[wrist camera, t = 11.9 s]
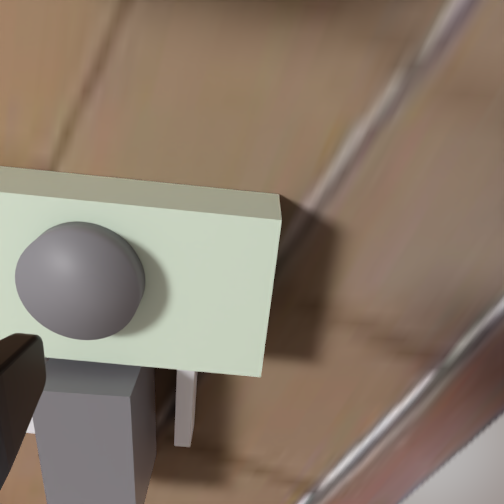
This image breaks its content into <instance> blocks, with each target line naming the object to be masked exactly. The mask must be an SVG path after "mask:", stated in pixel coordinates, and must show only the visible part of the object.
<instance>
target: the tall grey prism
mask: <svg viewBox="0 0 504 504" xmlns="http://www.w3.org/2000/svg"><path fill="white" fill-rule="evenodd" d="M45 365H46V383H45V387H44V390H43V392H42V395H41V397H40V399H39V402H38V404H37V407H36V409H35V412H34V414H33V423H34V429H35V435H36V441H37V447H38V453H39V459H40V465H41V471H42V477H43V483H44V488H45V494H46V500H47V504H144V502H145V498H146V494H147V490H148V486H149V482H150V478H151V474H152V470H153V466H154V462H155V458H156V412H155V370H154V367H145V366H134V365H123V364H112V363H101V362H91V361H80V360H69V359H58V358H49V359H48V361H47V362H46V364H45Z"/></svg>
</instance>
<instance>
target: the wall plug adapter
mask: <svg viewBox="0 0 504 504" xmlns="http://www.w3.org/2000/svg"><path fill="white" fill-rule="evenodd" d="M281 223H282V217H281V208H280V198H279V194H271V193H262V192H252V191H242V190H232V189H222V188H212V187H202V186H192V185H182V184H173V183H163V182H153V181H143V180H133V179H123V178H113V177H103V176H93V175H84V174H74V173H64V172H54V171H44V170H34V169H24V168H14V167H5V166H0V340H1V339H3V338H5V337H7V336H9V335H12V334H14V333H25V334H35V335H39V336H40V337H41V338H42V341H43V346H44V355H45V364H46V362H47V361H48V359H47V358H58V359H69V360H80V361H91V362H101V363H112V364H123V365H134V366H145V367H156V368H166V369H177V383H176V409H175V435H174V446H182V447H190V445H191V440H192V434H193V428H194V420H195V403H196V387H197V371H199V372H210V373H221V374H231V375H242V376H253V377H261V372H262V365H263V357H264V350H265V342H266V335H267V327H268V320H269V312H270V305H271V297H272V290H273V282H274V275H275V268H276V260H277V253H278V245H279V238H280V230H281ZM26 433H35V429H34V423H33V417H32V419H31V422H30V424H29V426H28V429H27V431H26Z"/></svg>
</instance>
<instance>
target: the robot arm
mask: <svg viewBox="0 0 504 504" xmlns="http://www.w3.org/2000/svg"><path fill="white" fill-rule="evenodd" d="M45 383H46V365H45V355H44V346H43V341H42V338H41V337H40V336H39V335H35V334H25V333H14V334H12V335H9V336H7V337H5V338H3V339H1V340H0V490H1V488H2V486H3V484H4V482H5V480H6V478H7V476H8V474H9V472H10V470H11V467H12V465H13V463H14V460H15V458H16V456H17V453H18V451H19V448H20V446H21V444H22V441H23V439H24V436H25V434H26V431H27V429H28V426H29V424H30V422H31V419H32V417H33V414H34V412H35V409H36V407H37V404H38V402H39V399H40V397H41V395H42V392H43V390H44V387H45Z"/></svg>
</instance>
